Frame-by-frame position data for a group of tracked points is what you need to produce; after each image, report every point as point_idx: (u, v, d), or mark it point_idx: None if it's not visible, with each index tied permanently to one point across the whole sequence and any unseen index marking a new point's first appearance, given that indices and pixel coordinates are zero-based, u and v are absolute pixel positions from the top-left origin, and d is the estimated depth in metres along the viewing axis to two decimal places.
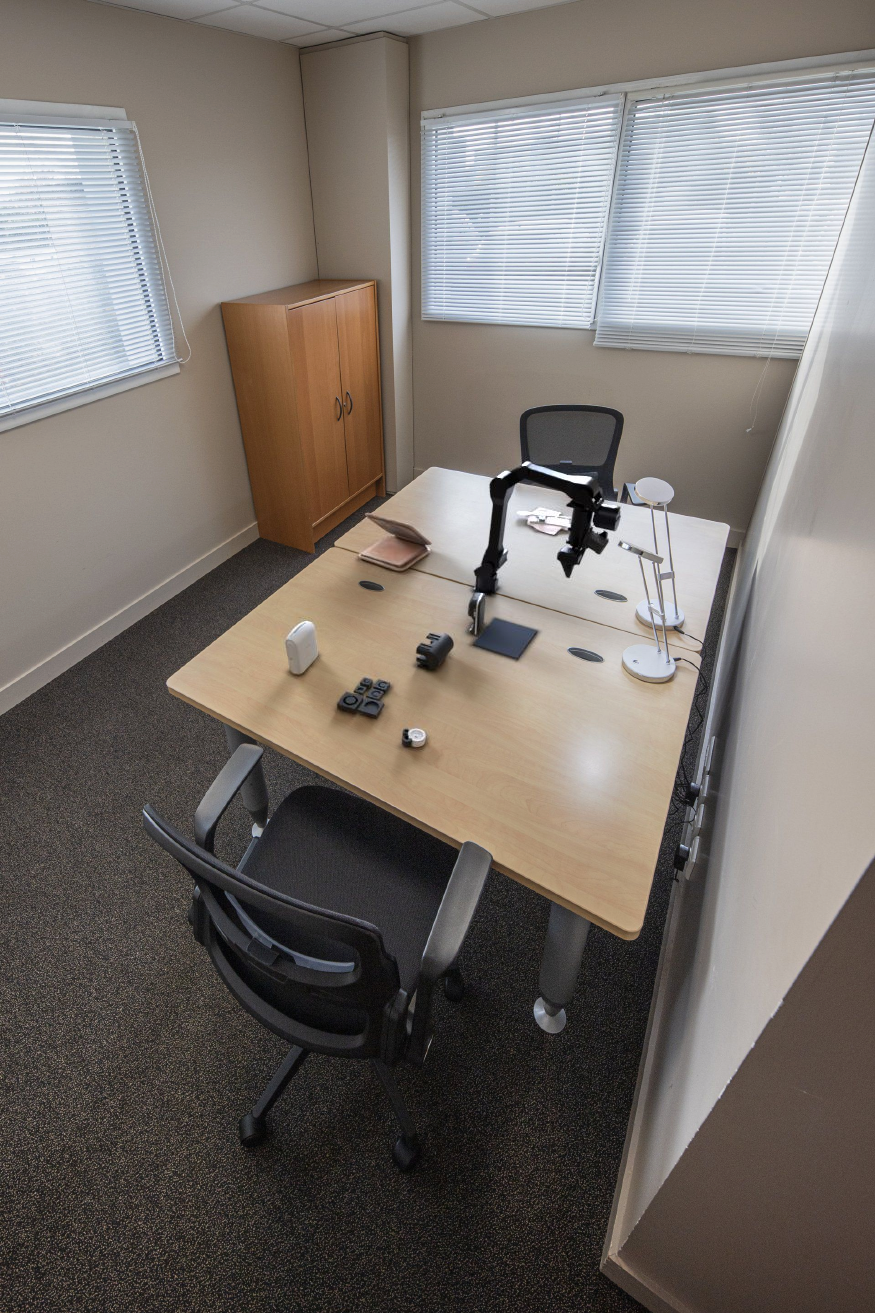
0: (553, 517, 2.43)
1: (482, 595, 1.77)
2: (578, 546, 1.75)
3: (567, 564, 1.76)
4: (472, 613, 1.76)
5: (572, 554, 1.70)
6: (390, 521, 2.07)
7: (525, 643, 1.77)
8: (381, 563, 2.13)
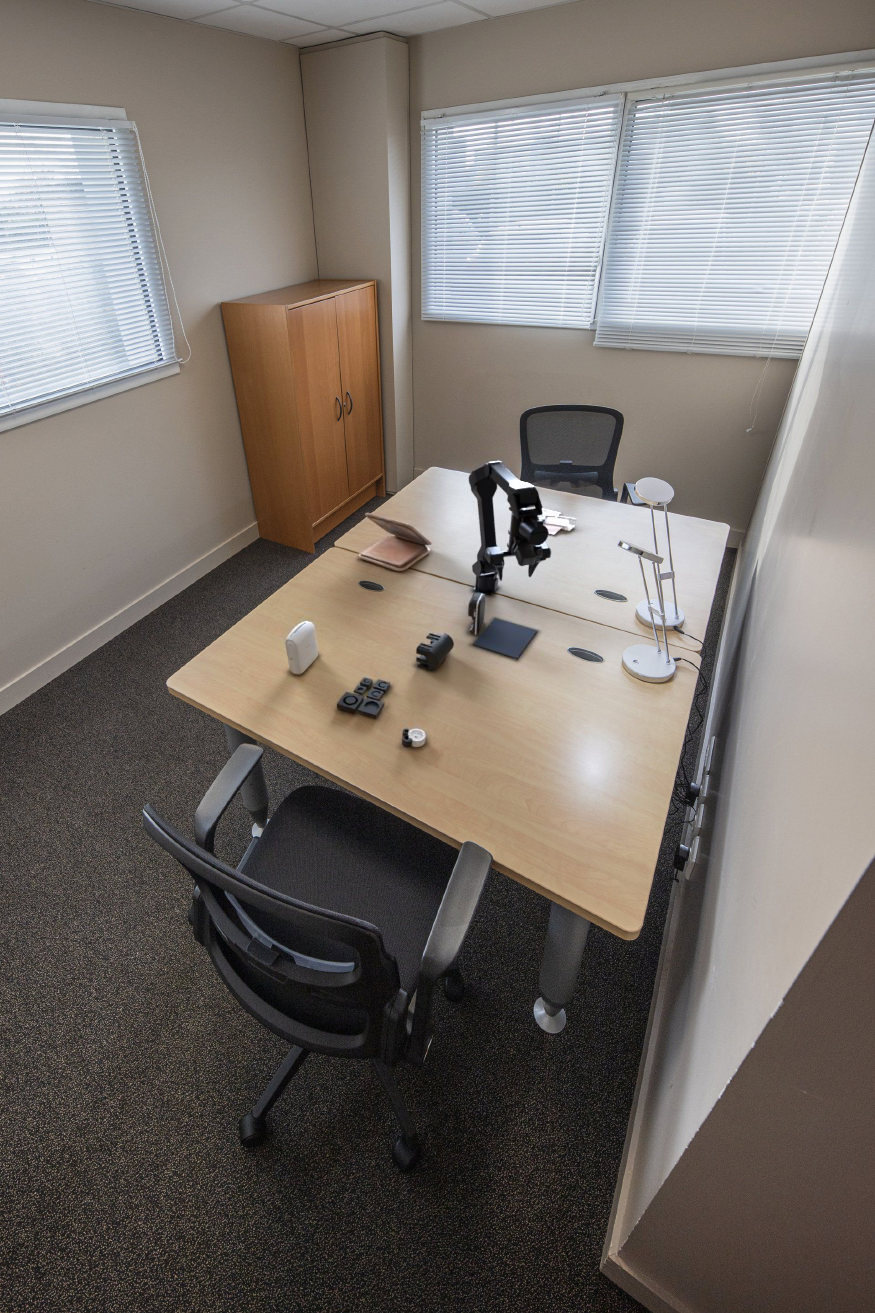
0: (553, 517, 2.43)
1: (482, 595, 1.77)
2: (510, 551, 1.73)
3: None
4: (472, 613, 1.76)
5: (490, 553, 1.72)
6: (390, 521, 2.07)
7: (525, 643, 1.77)
8: (381, 563, 2.13)
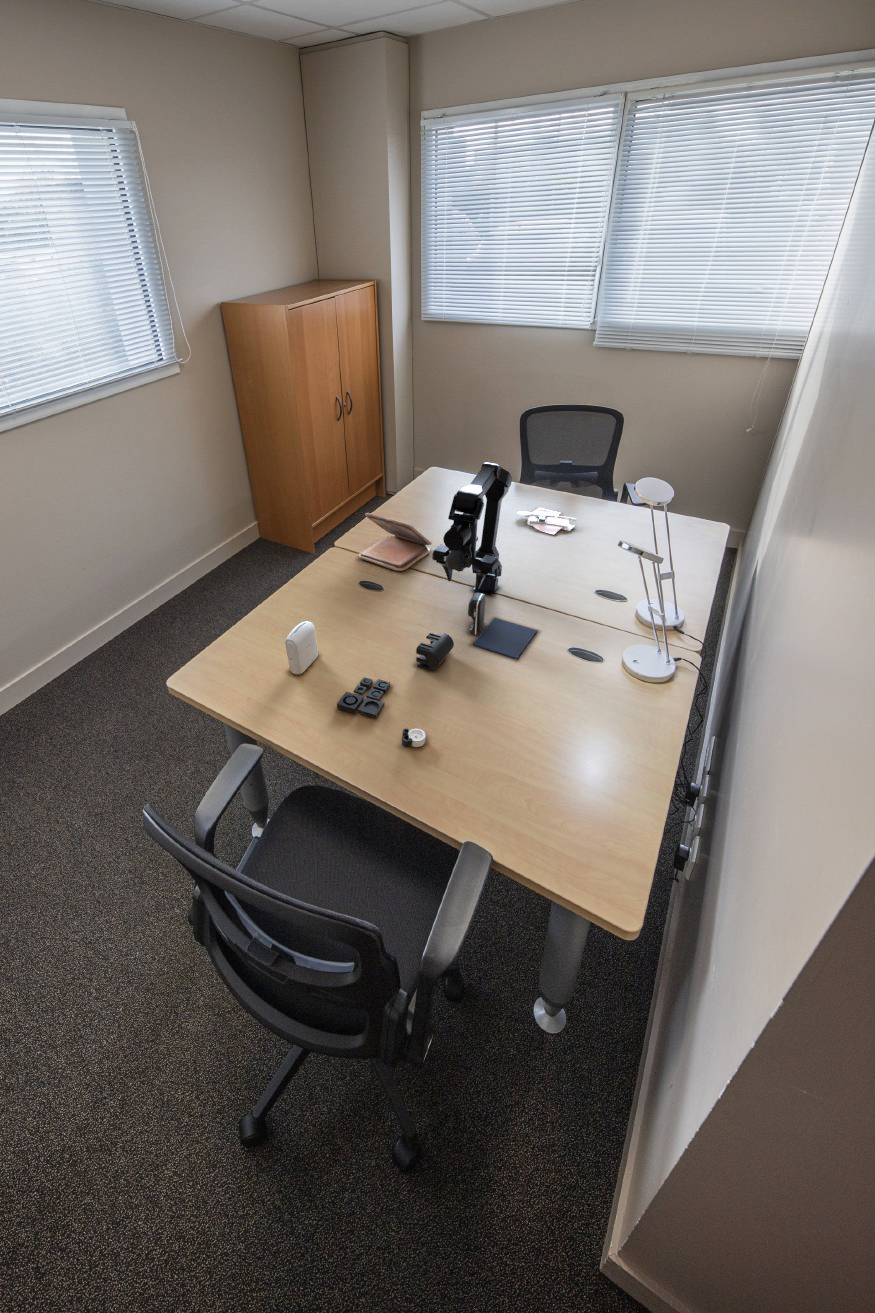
0: (553, 517, 2.43)
1: (482, 595, 1.77)
2: None
3: None
4: (472, 613, 1.76)
5: (435, 549, 1.74)
6: (390, 521, 2.07)
7: (525, 643, 1.77)
8: (381, 563, 2.13)
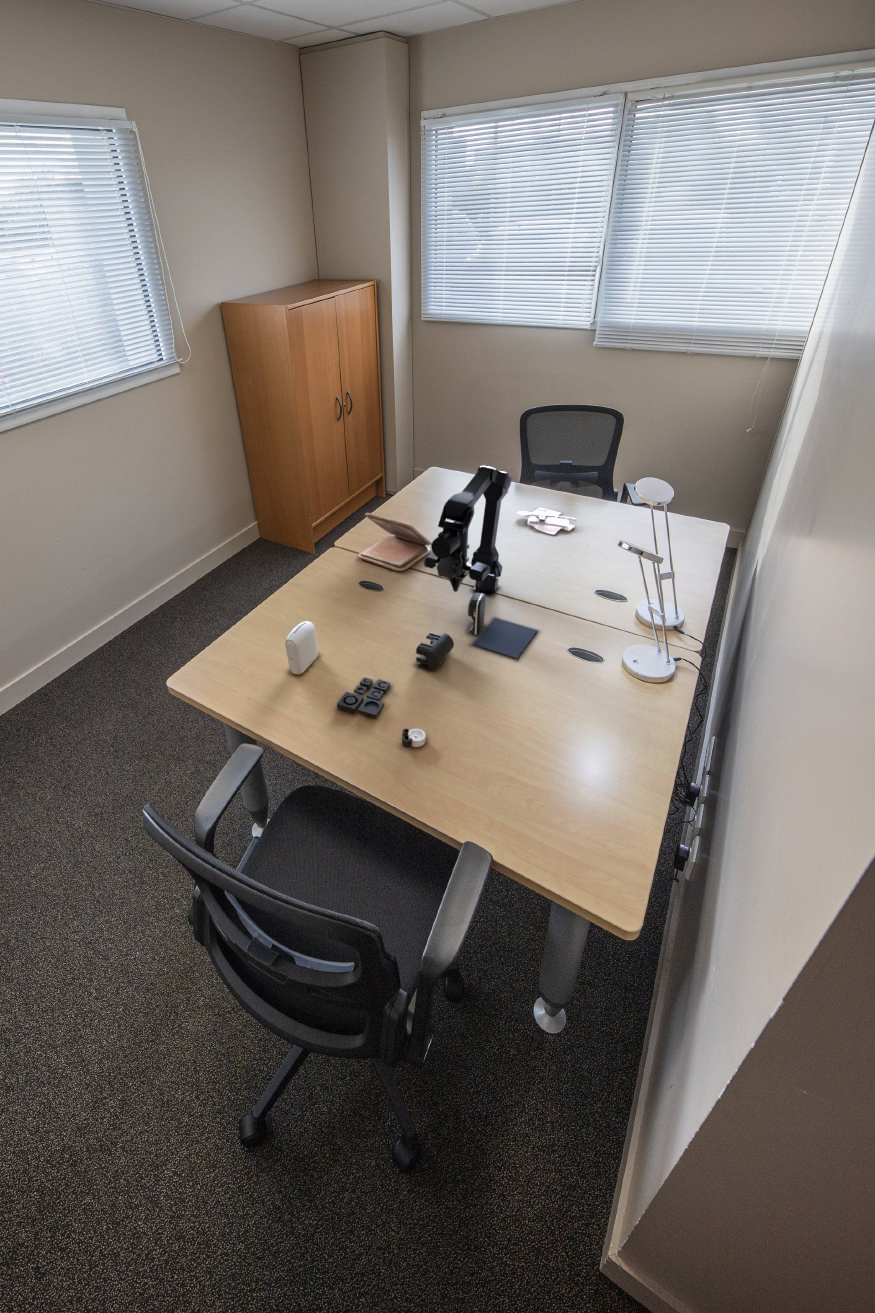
0: (553, 517, 2.43)
1: (482, 595, 1.77)
2: None
3: None
4: (472, 613, 1.76)
5: None
6: (390, 521, 2.07)
7: (525, 643, 1.77)
8: (381, 563, 2.13)
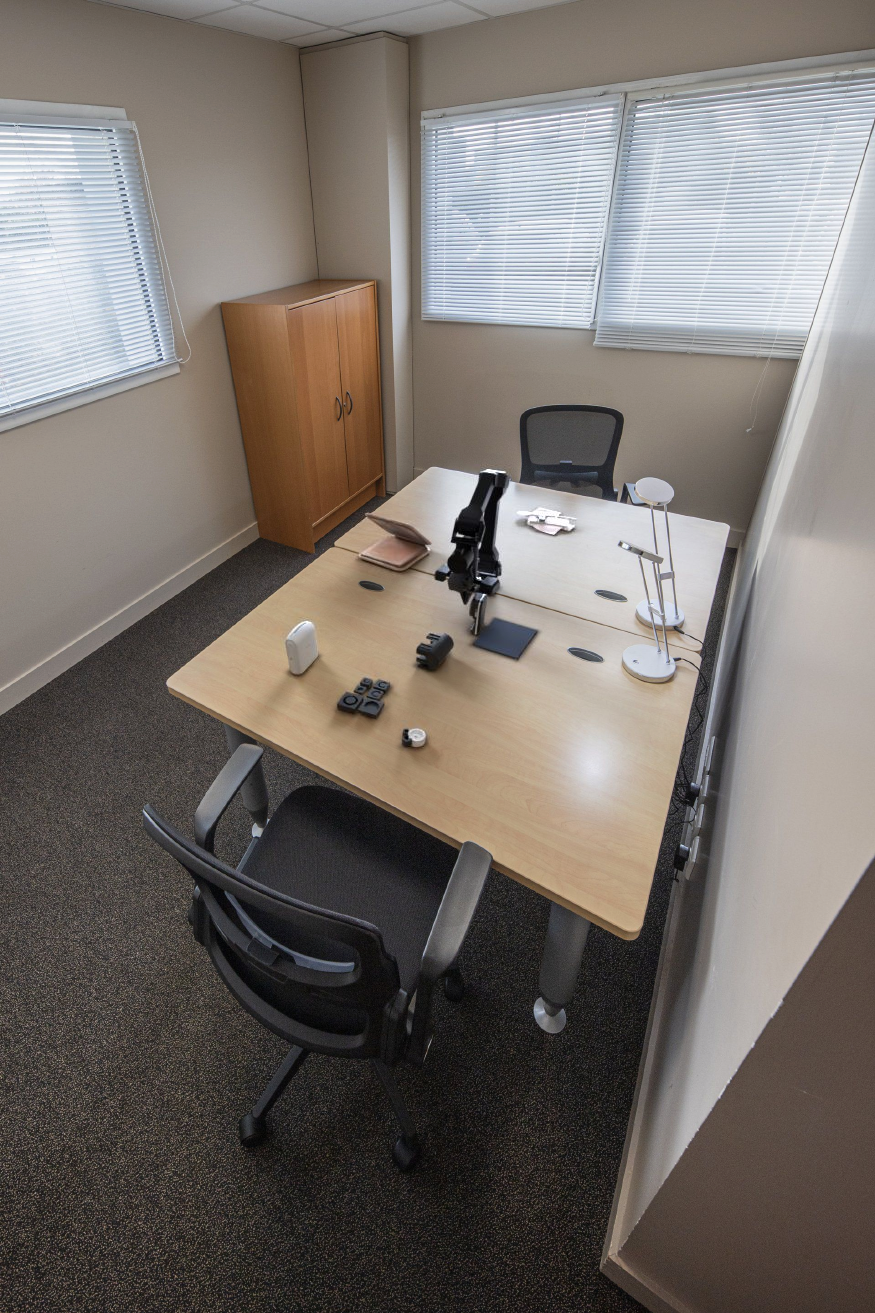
0: (553, 517, 2.43)
1: (484, 595, 1.77)
2: None
3: None
4: (473, 613, 1.76)
5: (437, 569, 1.77)
6: (390, 521, 2.07)
7: (525, 643, 1.77)
8: (381, 563, 2.13)
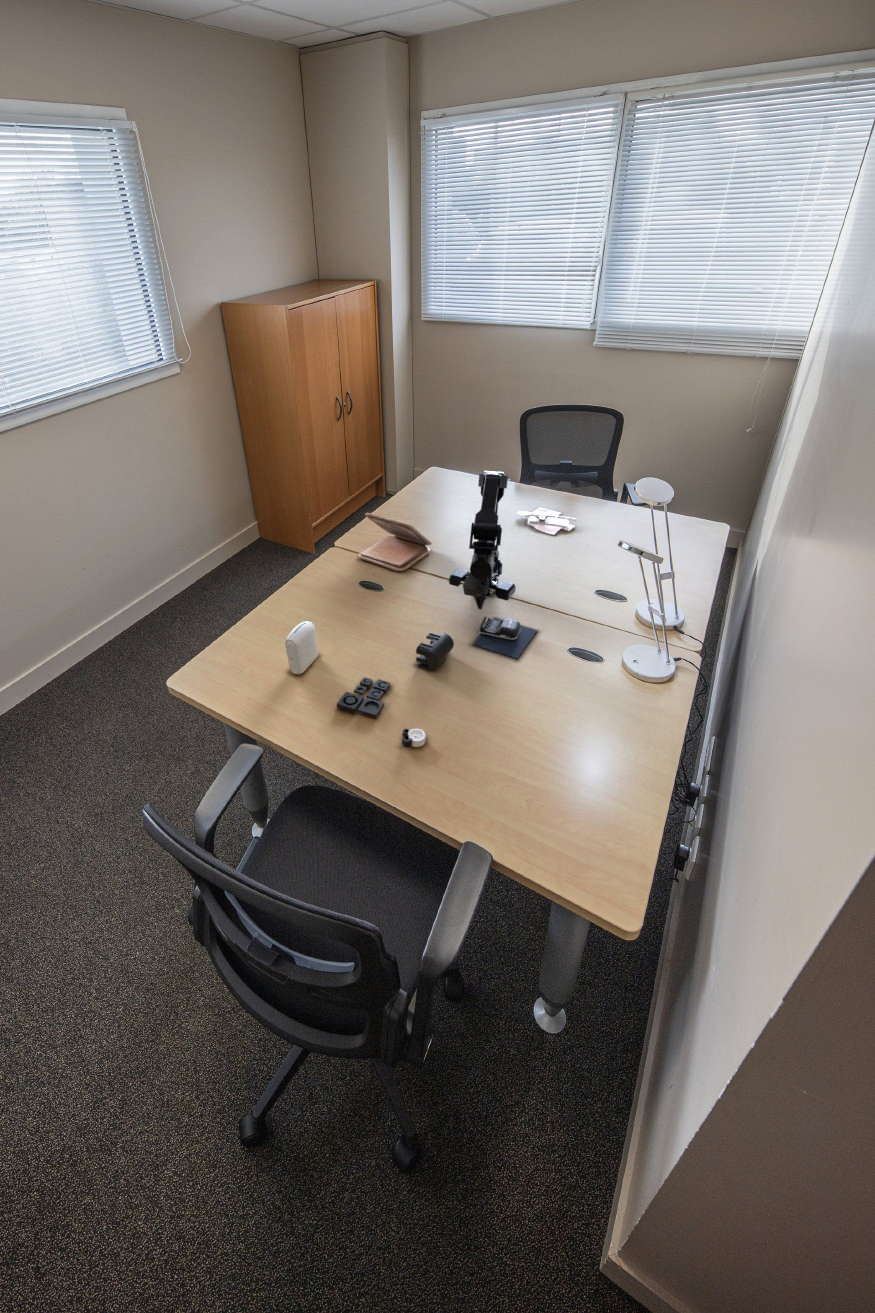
0: (553, 517, 2.43)
1: (519, 631, 1.81)
2: None
3: None
4: (503, 633, 1.77)
5: (452, 573, 1.75)
6: (390, 521, 2.07)
7: (525, 643, 1.77)
8: (381, 563, 2.13)
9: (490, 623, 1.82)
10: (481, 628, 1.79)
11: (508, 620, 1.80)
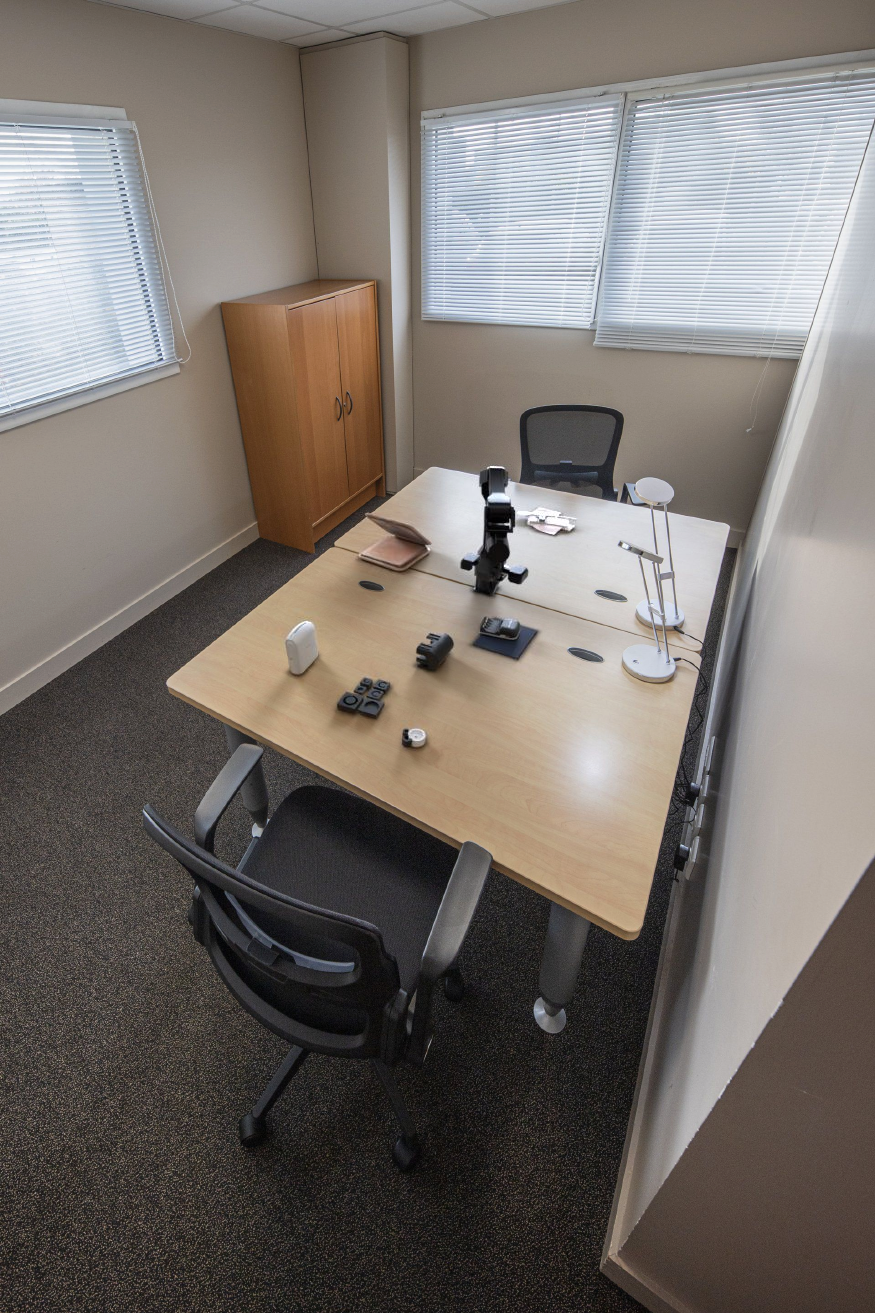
0: (553, 517, 2.43)
1: (519, 631, 1.81)
2: None
3: None
4: (503, 633, 1.77)
5: (464, 558, 1.72)
6: (390, 521, 2.07)
7: (525, 643, 1.77)
8: (381, 563, 2.13)
9: (490, 623, 1.82)
10: (481, 628, 1.79)
11: (508, 620, 1.80)
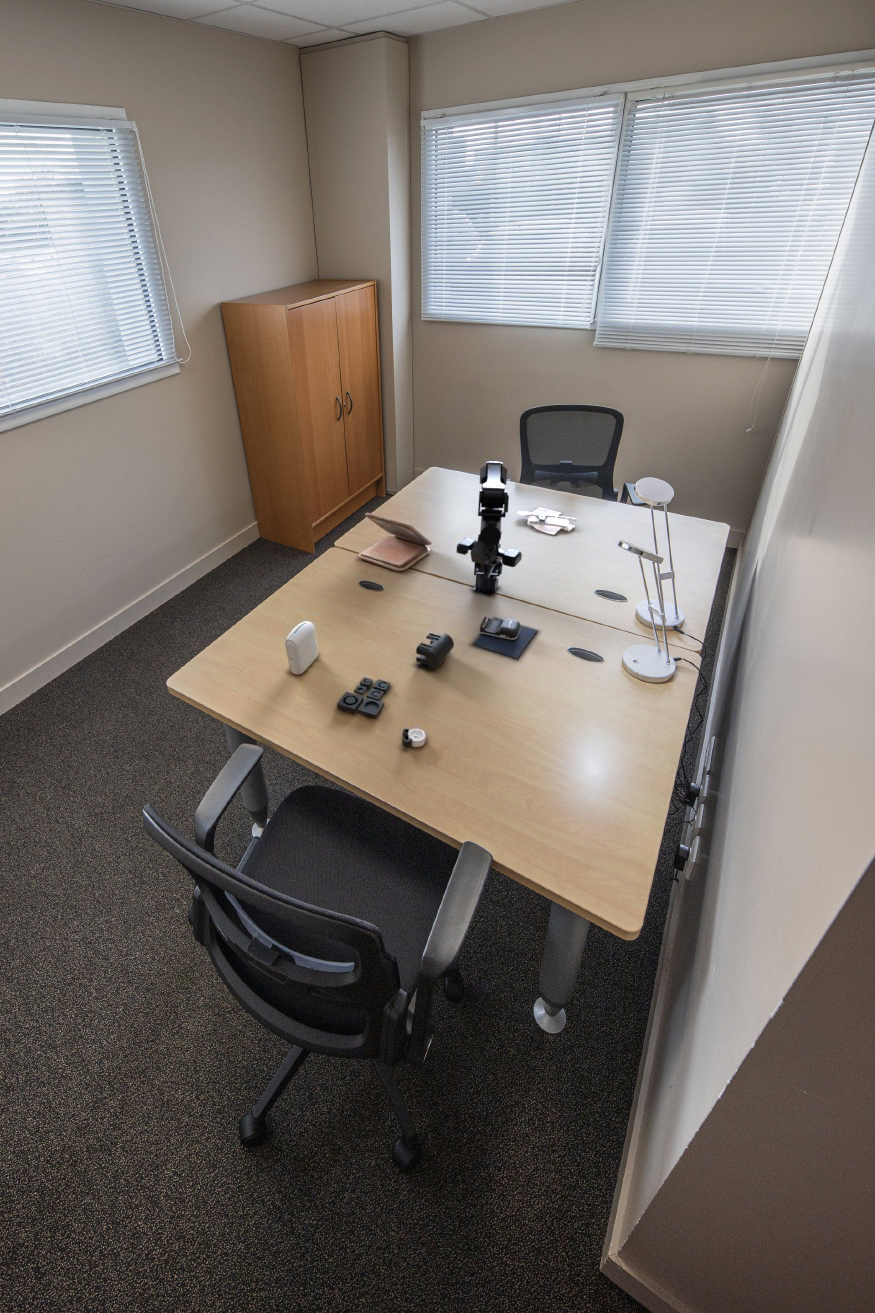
0: (553, 517, 2.43)
1: (519, 631, 1.81)
2: None
3: None
4: (503, 633, 1.77)
5: (460, 542, 1.79)
6: (390, 521, 2.07)
7: (525, 643, 1.77)
8: (381, 563, 2.13)
9: (490, 623, 1.82)
10: (481, 628, 1.79)
11: (508, 620, 1.80)
